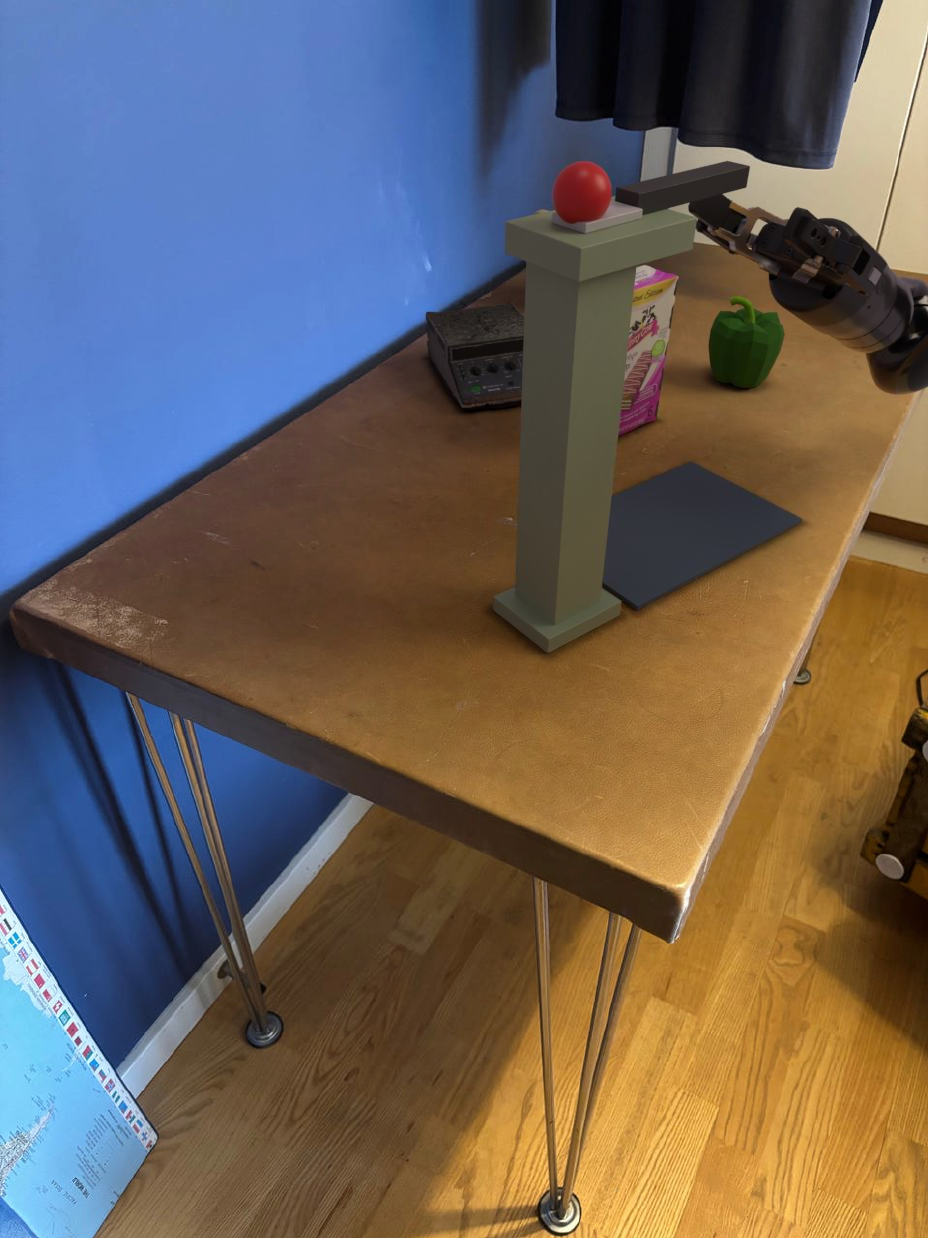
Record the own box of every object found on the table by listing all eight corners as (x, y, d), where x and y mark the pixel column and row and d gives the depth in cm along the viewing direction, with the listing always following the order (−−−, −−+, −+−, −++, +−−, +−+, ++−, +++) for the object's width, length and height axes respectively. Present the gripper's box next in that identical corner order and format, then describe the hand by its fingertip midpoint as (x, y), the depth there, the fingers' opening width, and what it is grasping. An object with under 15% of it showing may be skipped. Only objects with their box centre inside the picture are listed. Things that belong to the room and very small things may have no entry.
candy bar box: (591, 452, 97) (605, 299, 87) (558, 435, 100) (568, 285, 90) (660, 420, 103) (681, 273, 93) (627, 405, 106) (643, 261, 96)
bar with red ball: (714, 179, 65) (723, 122, 62) (756, 189, 62) (766, 131, 60) (538, 224, 57) (541, 160, 54) (578, 237, 54) (583, 172, 52)
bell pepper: (785, 377, 112) (803, 296, 105) (755, 400, 107) (773, 316, 101) (722, 360, 116) (737, 280, 110) (691, 381, 111) (704, 300, 105)
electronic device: (461, 415, 105) (460, 364, 101) (425, 356, 118) (423, 309, 114) (558, 402, 107) (560, 351, 103) (512, 345, 120) (513, 298, 116)
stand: (584, 565, 81) (619, 194, 62) (641, 604, 77) (697, 217, 57) (492, 610, 76) (498, 222, 57) (547, 653, 72) (574, 249, 53)
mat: (690, 465, 95) (690, 460, 95) (801, 523, 86) (802, 518, 86) (529, 536, 85) (529, 532, 85) (637, 610, 76) (637, 606, 76)
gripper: (885, 351, 73) (798, 286, 61) (744, 302, 82) (645, 237, 70) (937, 259, 71) (857, 173, 59) (786, 218, 80) (691, 137, 68)
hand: (742, 208), depth 65 cm, fingers open, 8 cm apart
